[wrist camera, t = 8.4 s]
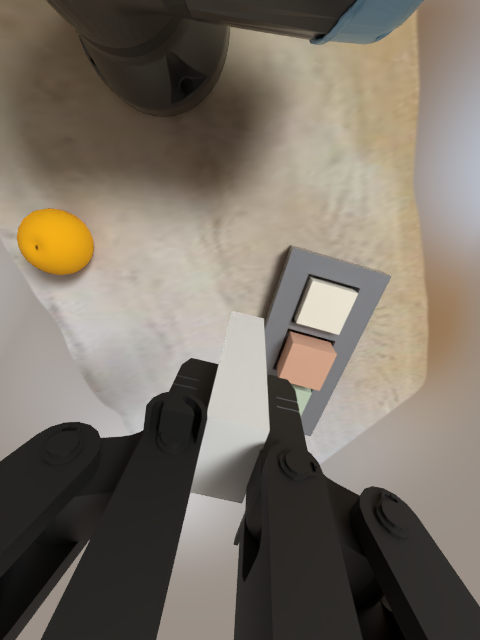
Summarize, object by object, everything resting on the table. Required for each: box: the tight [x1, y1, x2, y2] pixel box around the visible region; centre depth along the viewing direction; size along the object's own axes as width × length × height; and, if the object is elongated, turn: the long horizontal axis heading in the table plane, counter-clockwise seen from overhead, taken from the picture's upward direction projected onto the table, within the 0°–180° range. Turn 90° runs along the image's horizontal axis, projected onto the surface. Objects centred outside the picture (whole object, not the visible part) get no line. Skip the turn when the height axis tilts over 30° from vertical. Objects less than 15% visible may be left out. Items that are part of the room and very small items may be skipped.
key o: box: [270, 375, 312, 416], centre depth 42 cm, size 6×6×4 cm
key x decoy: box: [277, 332, 337, 391], centre depth 37 cm, size 6×6×4 cm
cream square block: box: [293, 275, 358, 335], centre depth 36 cm, size 6×6×4 cm
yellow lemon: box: [17, 208, 94, 275], centre depth 33 cm, size 8×8×8 cm
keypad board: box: [264, 245, 391, 436], centre depth 40 cm, size 28×13×2 cm, turn 165°
